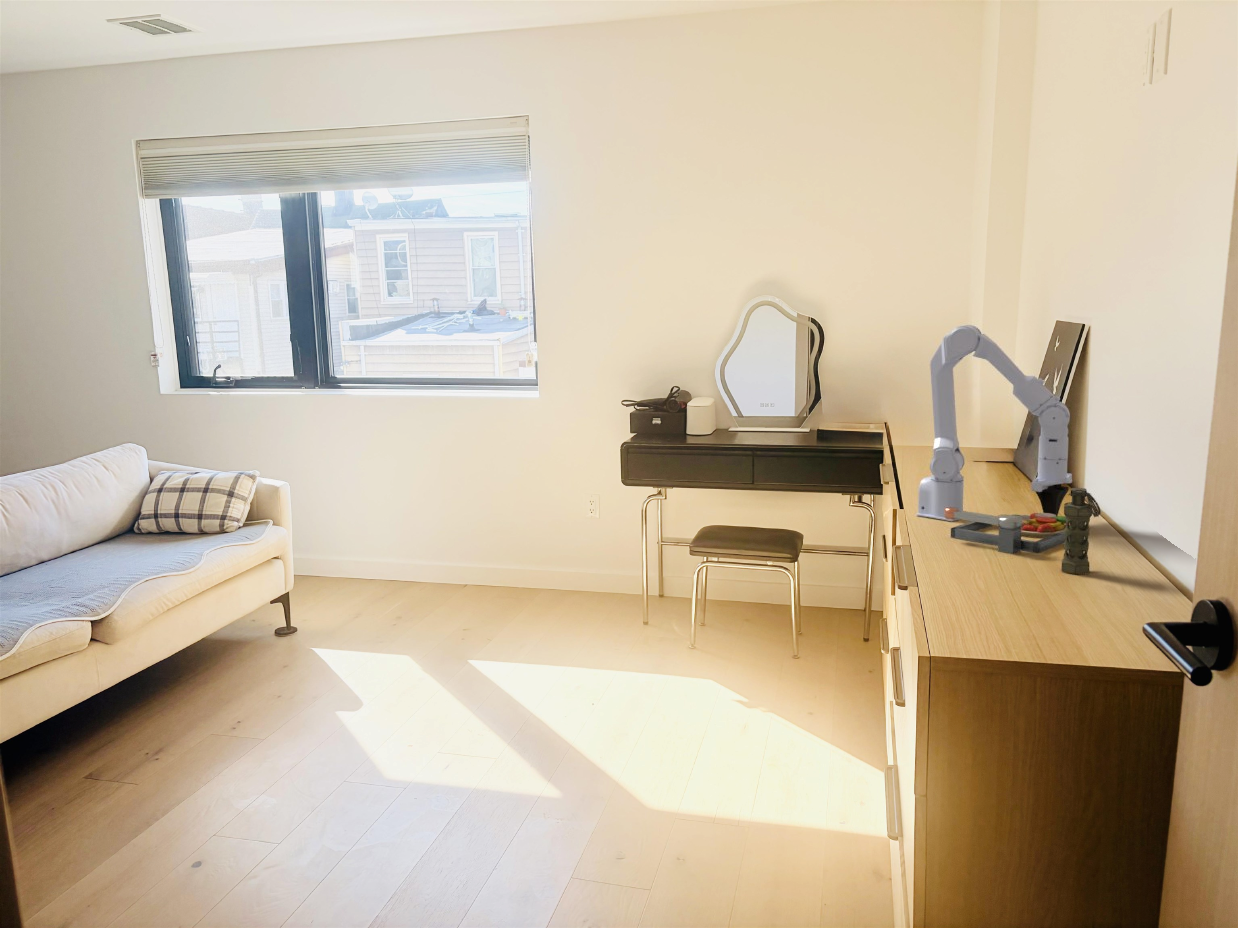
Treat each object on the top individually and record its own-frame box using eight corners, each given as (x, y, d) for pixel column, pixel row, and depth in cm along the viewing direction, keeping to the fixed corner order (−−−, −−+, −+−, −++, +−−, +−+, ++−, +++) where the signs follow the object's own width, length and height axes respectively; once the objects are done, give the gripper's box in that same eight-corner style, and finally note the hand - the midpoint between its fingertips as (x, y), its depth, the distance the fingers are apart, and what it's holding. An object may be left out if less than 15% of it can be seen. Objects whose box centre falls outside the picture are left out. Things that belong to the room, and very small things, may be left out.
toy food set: (987, 529, 187) (987, 515, 187) (1026, 521, 194) (1026, 506, 193) (1043, 542, 176) (1044, 526, 175) (1082, 532, 182) (1083, 517, 182)
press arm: (939, 518, 178) (939, 509, 178) (951, 515, 181) (951, 505, 181) (1015, 531, 166) (1015, 521, 165) (1026, 527, 168) (1027, 517, 168)
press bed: (940, 540, 179) (941, 518, 179) (987, 525, 191) (988, 504, 190) (1028, 556, 165) (1028, 533, 164) (1073, 539, 176) (1074, 516, 175)
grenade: (1098, 578, 150) (1103, 494, 148) (1061, 575, 153) (1065, 492, 151) (1097, 564, 158) (1101, 485, 156) (1061, 562, 161) (1064, 483, 158)
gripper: (1055, 464, 180) (1053, 527, 182) (1087, 455, 188) (1084, 515, 191) (1022, 461, 185) (1020, 522, 187) (1054, 452, 194) (1052, 511, 196)
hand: (1050, 518), depth 189 cm, fingers closed
